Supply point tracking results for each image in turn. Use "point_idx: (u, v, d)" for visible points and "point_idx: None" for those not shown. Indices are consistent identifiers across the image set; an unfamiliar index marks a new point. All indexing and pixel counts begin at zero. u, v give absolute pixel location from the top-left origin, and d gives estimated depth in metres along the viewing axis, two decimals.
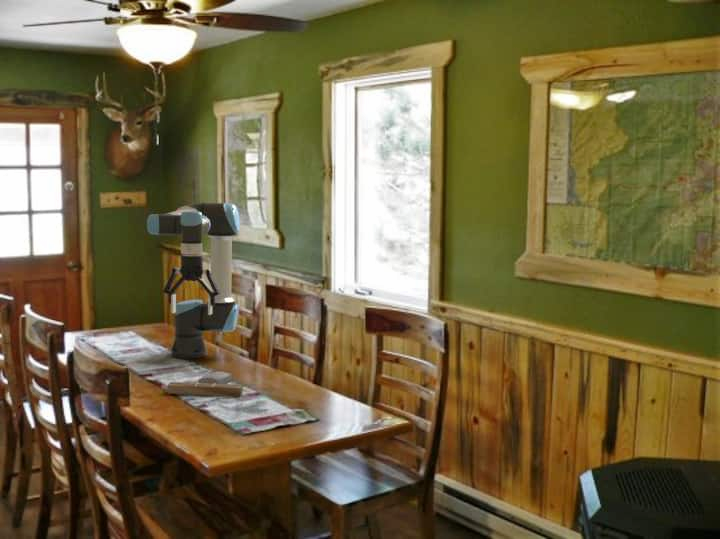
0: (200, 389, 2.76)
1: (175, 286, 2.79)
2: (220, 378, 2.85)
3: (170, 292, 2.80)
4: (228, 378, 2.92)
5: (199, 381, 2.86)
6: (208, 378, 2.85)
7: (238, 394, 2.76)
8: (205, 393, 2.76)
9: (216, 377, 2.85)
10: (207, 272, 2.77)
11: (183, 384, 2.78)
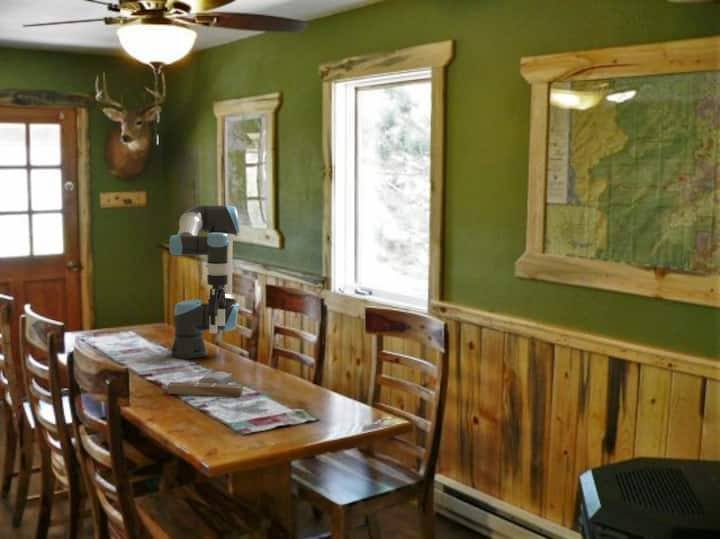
0: (200, 389, 2.76)
1: None
2: (221, 378, 2.85)
3: None
4: (229, 378, 2.92)
5: (200, 381, 2.86)
6: (209, 378, 2.85)
7: (238, 394, 2.76)
8: (205, 393, 2.76)
9: (217, 377, 2.85)
10: None
11: (183, 384, 2.78)
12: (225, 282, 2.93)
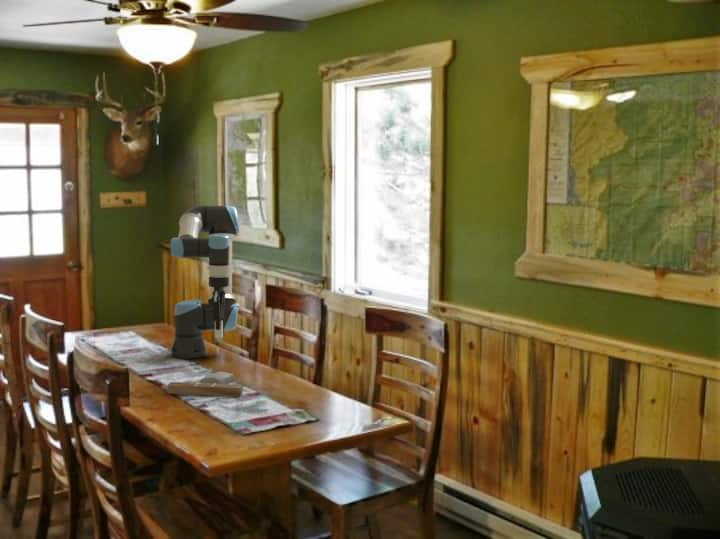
0: (200, 389, 2.76)
1: None
2: (222, 378, 2.85)
3: None
4: (230, 378, 2.92)
5: (201, 381, 2.86)
6: (210, 378, 2.85)
7: (238, 394, 2.76)
8: (205, 393, 2.76)
9: (219, 377, 2.85)
10: None
11: (183, 384, 2.78)
12: (226, 284, 2.94)
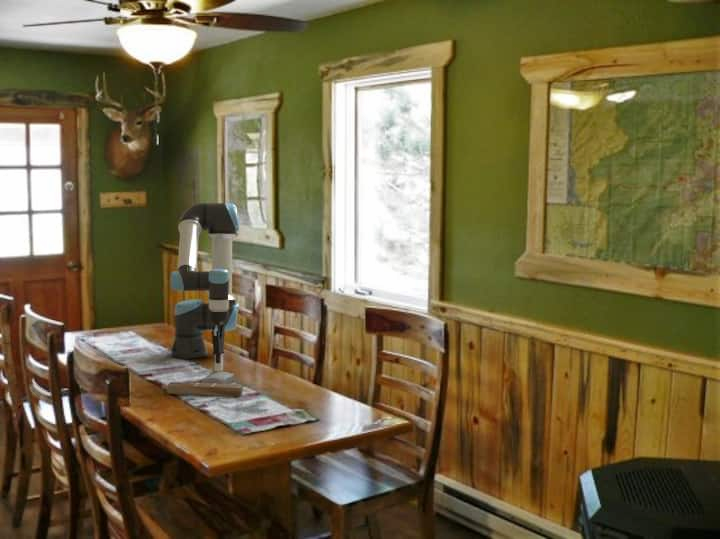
0: (200, 389, 2.76)
1: None
2: (224, 378, 2.85)
3: None
4: (231, 378, 2.92)
5: (202, 381, 2.86)
6: (211, 378, 2.85)
7: (238, 394, 2.76)
8: (205, 393, 2.76)
9: (220, 378, 2.85)
10: None
11: (183, 384, 2.78)
12: (226, 318, 2.95)
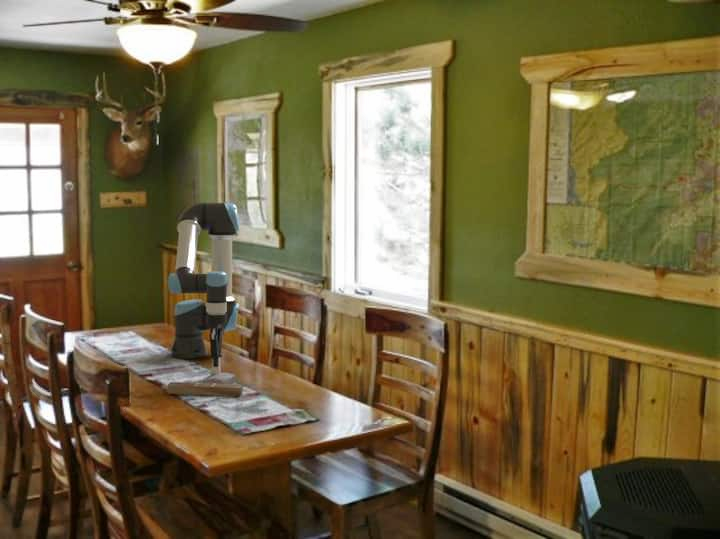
0: (200, 389, 2.76)
1: None
2: (225, 379, 2.84)
3: None
4: (232, 379, 2.91)
5: (204, 382, 2.84)
6: (213, 379, 2.84)
7: (238, 394, 2.76)
8: (205, 393, 2.76)
9: (221, 378, 2.83)
10: None
11: (183, 384, 2.78)
12: (224, 321, 2.91)
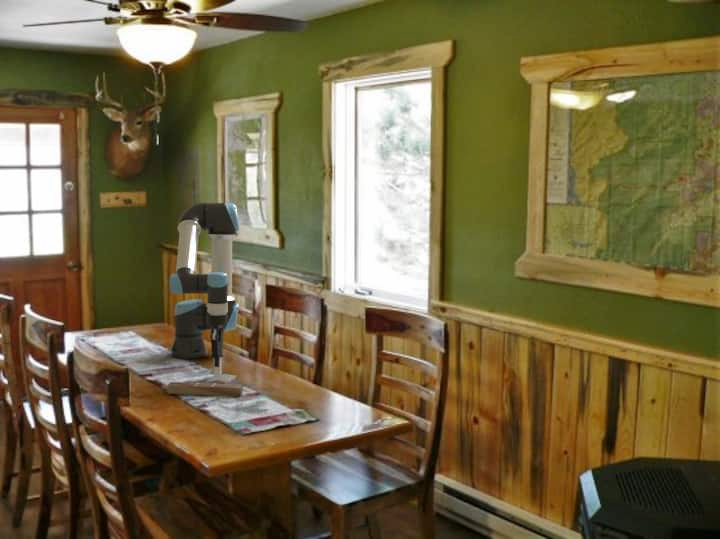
0: (200, 389, 2.76)
1: None
2: (228, 380, 2.82)
3: None
4: (234, 380, 2.89)
5: None
6: (216, 381, 2.82)
7: (238, 394, 2.76)
8: (205, 393, 2.76)
9: (225, 380, 2.82)
10: None
11: (183, 384, 2.78)
12: (225, 322, 2.93)
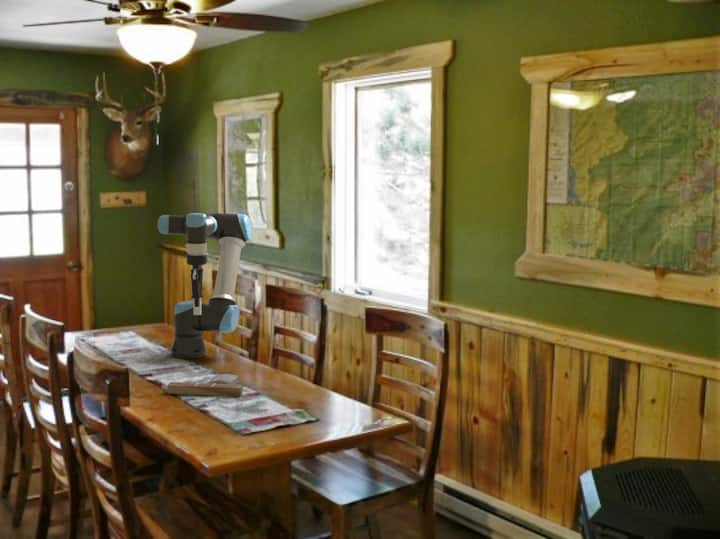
0: (200, 389, 2.76)
1: None
2: (230, 381, 2.82)
3: None
4: (236, 380, 2.89)
5: None
6: (218, 381, 2.82)
7: (238, 394, 2.76)
8: (205, 393, 2.76)
9: (227, 380, 2.82)
10: None
11: (183, 384, 2.78)
12: (205, 262, 2.97)
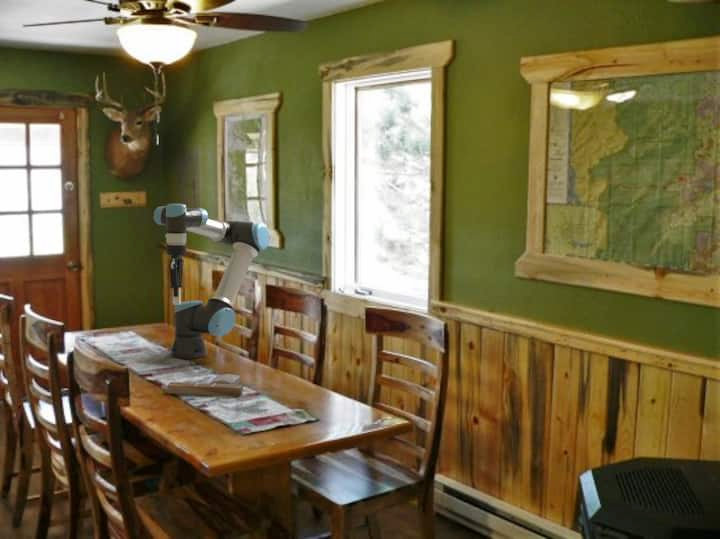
0: (200, 389, 2.76)
1: None
2: (233, 381, 2.82)
3: None
4: (238, 380, 2.89)
5: None
6: (220, 381, 2.82)
7: (238, 394, 2.76)
8: (205, 393, 2.76)
9: (229, 380, 2.82)
10: None
11: (183, 384, 2.78)
12: (184, 252, 3.00)
